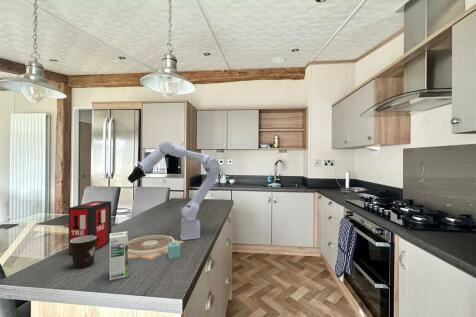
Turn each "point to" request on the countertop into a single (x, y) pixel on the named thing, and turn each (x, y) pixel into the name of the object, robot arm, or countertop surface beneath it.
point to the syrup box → (118, 255)
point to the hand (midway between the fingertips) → (129, 180)
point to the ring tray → (149, 246)
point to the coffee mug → (83, 251)
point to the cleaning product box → (91, 222)
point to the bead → (173, 250)
